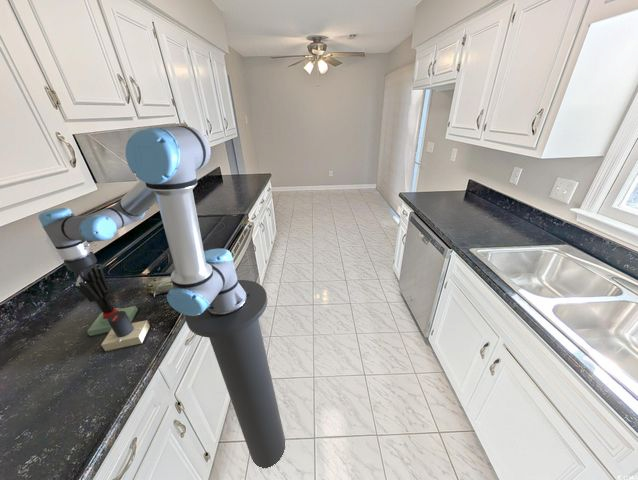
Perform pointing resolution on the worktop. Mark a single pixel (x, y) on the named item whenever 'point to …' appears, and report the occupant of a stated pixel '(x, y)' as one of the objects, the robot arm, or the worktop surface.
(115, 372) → the worktop surface
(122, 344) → the dial panel
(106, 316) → the switch button
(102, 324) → the switch base
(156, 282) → the mushroom
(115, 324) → the dial
